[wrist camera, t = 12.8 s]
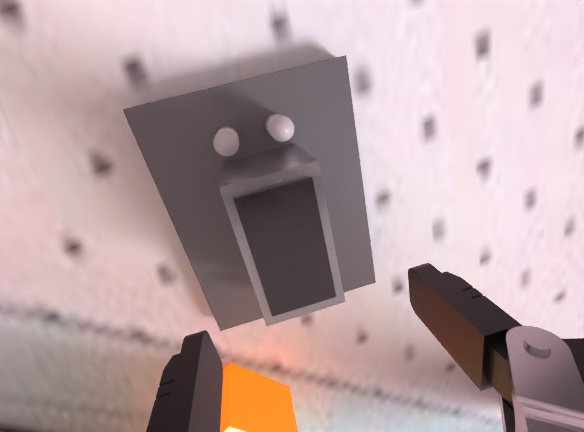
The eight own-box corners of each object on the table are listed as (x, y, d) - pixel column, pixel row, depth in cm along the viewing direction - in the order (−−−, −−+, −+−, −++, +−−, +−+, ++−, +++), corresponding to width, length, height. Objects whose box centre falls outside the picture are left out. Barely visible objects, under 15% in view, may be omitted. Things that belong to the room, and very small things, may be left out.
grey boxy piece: (295, 143, 19) (319, 161, 14) (319, 254, 23) (345, 303, 17) (223, 162, 19) (218, 188, 13) (259, 272, 23) (267, 328, 17)
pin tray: (338, 58, 19) (365, 47, 15) (368, 272, 27) (392, 304, 22) (131, 109, 18) (100, 111, 14) (221, 318, 25) (218, 360, 21)
